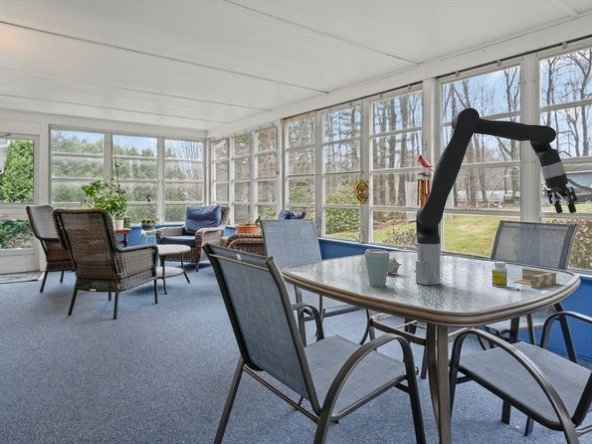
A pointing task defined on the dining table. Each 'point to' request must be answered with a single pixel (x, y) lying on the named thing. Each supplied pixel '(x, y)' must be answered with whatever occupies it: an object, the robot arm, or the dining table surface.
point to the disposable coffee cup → (377, 266)
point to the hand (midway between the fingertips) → (566, 212)
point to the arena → (537, 278)
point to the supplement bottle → (499, 275)
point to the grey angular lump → (393, 266)
